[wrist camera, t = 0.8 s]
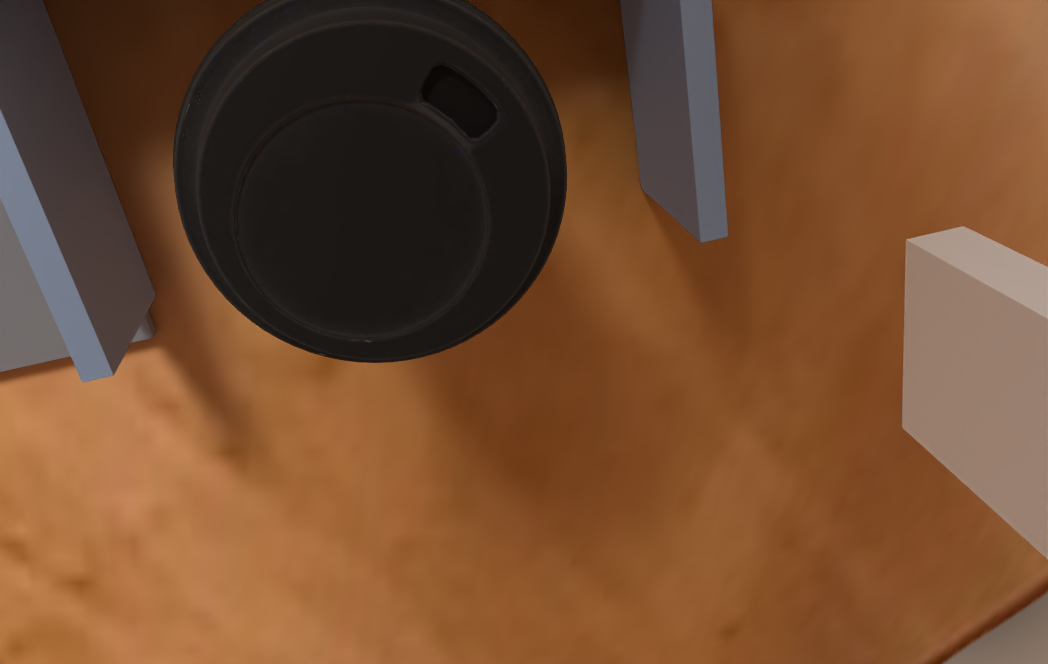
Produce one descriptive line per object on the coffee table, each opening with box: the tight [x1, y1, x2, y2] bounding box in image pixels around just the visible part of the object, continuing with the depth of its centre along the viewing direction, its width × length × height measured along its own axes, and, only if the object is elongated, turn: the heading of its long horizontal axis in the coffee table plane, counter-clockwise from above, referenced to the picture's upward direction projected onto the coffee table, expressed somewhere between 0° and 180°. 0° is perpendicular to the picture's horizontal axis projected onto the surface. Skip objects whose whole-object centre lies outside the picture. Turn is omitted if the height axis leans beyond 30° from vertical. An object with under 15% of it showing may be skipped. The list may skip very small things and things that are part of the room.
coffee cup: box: [173, 0, 567, 363], centre depth 27 cm, size 10×9×15 cm
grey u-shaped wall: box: [0, 0, 728, 383], centre depth 30 cm, size 13×22×7 cm, turn 100°
